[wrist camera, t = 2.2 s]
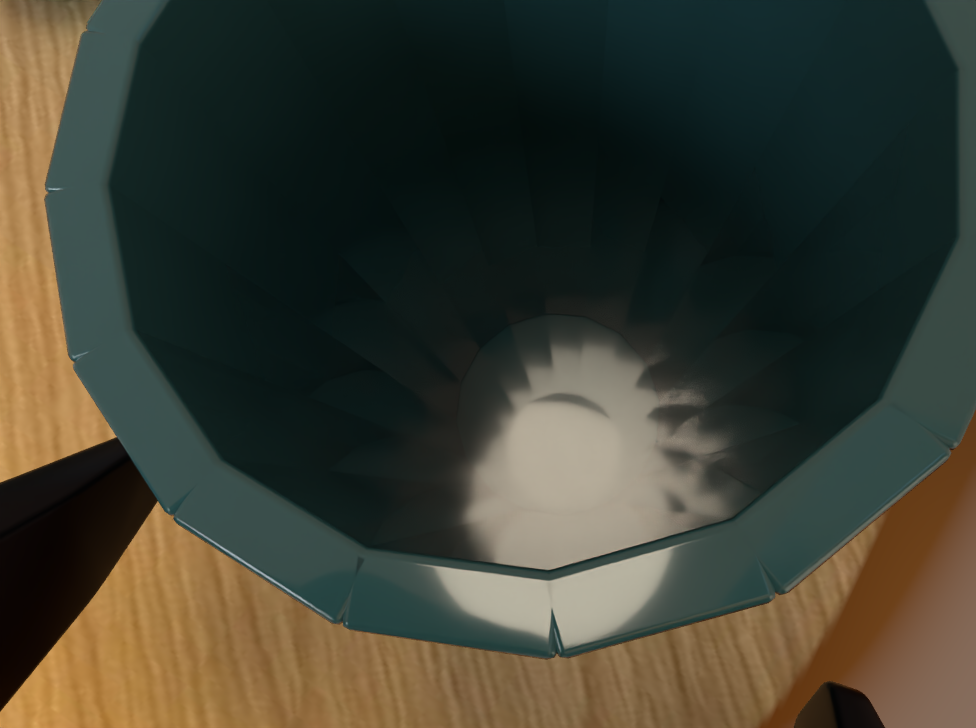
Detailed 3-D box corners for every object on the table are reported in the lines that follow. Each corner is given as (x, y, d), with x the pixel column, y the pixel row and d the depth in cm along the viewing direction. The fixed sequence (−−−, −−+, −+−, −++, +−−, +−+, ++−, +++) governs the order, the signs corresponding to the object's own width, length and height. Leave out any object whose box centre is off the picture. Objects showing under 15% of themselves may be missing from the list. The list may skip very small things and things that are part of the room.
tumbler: (606, 575, 19) (755, 899, 4) (404, 459, 21) (-126, 332, 5) (713, 367, 20) (1219, -106, 4) (511, 267, 21) (347, -372, 6)
